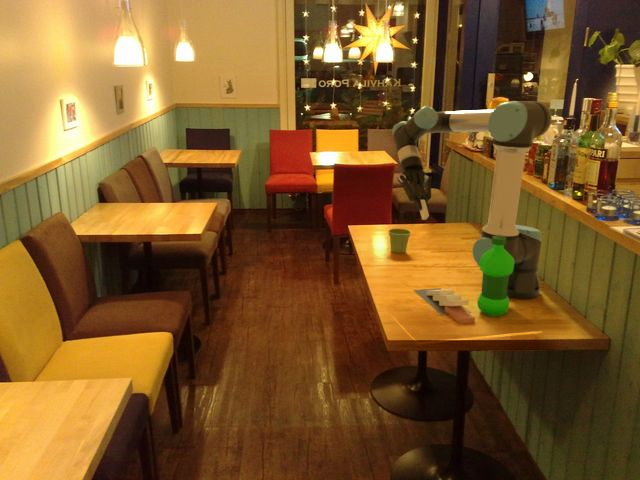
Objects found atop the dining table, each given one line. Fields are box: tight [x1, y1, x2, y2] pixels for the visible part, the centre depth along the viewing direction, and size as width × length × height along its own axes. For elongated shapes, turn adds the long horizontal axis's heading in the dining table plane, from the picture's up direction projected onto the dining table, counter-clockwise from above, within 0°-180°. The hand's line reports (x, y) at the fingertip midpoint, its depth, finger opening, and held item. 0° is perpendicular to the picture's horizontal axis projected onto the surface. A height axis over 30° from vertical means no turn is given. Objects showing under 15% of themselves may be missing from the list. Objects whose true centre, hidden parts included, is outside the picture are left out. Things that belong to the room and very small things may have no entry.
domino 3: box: [439, 299, 470, 306], centre depth 190 cm, size 2×5×10 cm
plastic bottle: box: [477, 236, 514, 317], centre depth 187 cm, size 10×10×25 cm
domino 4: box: [444, 305, 476, 324], centre depth 186 cm, size 2×5×10 cm
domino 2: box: [433, 294, 462, 301], centre depth 194 cm, size 2×5×10 cm
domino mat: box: [413, 287, 472, 316], centre depth 198 cm, size 22×10×1 cm, turn 15°
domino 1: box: [426, 289, 455, 296], centre depth 199 cm, size 2×5×10 cm
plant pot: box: [387, 228, 412, 254], centre depth 251 cm, size 9×9×9 cm
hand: (425, 217), depth 209 cm, fingers closed
